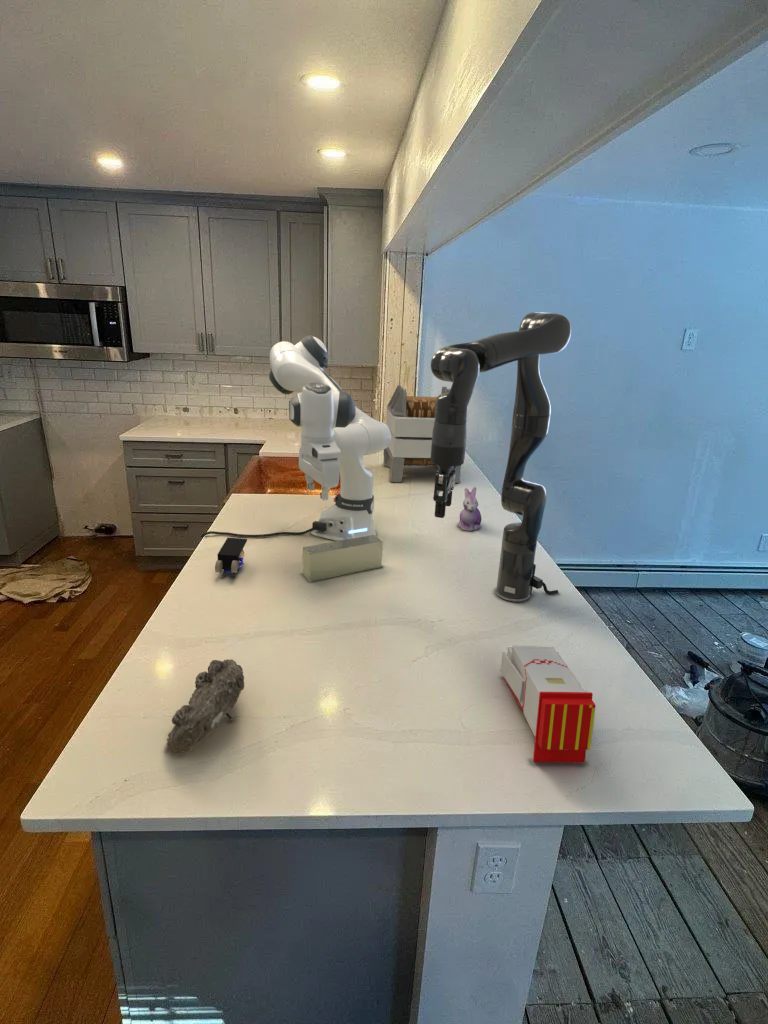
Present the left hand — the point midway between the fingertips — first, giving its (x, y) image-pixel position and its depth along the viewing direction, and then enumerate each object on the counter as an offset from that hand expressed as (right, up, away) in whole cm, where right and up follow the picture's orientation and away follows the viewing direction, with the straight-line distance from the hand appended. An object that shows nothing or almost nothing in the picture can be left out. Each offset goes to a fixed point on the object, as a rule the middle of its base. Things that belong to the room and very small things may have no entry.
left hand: (317, 494), depth 158 cm
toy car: (-26, -22, +10) cm, 36 cm away
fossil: (-14, -44, -50) cm, 68 cm away
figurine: (+50, -11, +51) cm, 73 cm away
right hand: (+32, -5, -27) cm, 42 cm away
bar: (+6, -23, +13) cm, 27 cm away
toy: (+49, -45, -44) cm, 80 cm away
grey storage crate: (+36, +14, +117) cm, 123 cm away
